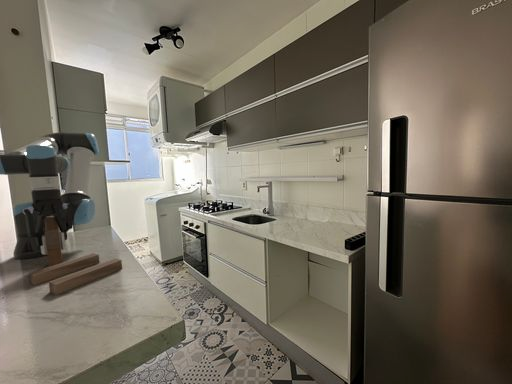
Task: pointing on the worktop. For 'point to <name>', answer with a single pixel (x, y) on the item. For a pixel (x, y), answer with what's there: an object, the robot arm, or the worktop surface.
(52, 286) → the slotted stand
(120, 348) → the worktop surface
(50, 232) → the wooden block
